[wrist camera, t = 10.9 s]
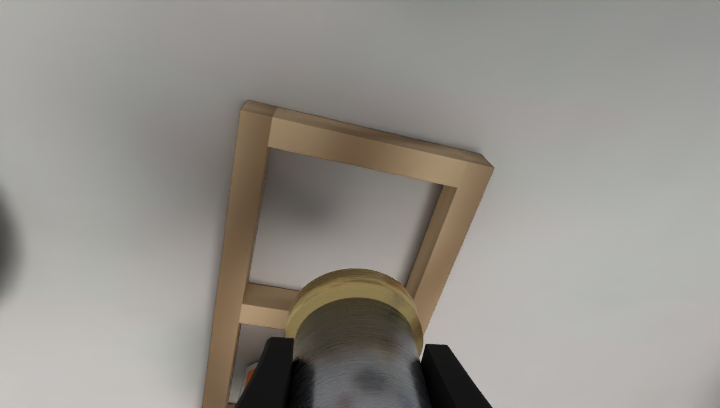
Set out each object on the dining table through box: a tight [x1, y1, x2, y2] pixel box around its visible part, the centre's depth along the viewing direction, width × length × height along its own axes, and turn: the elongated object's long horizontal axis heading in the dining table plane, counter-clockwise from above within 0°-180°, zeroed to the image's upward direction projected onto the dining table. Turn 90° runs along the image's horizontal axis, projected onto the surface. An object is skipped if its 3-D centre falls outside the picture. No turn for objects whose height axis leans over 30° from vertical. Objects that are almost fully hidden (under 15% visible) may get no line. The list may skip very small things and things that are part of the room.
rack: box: [202, 100, 494, 408], centre depth 21 cm, size 10×20×2 cm, turn 166°
